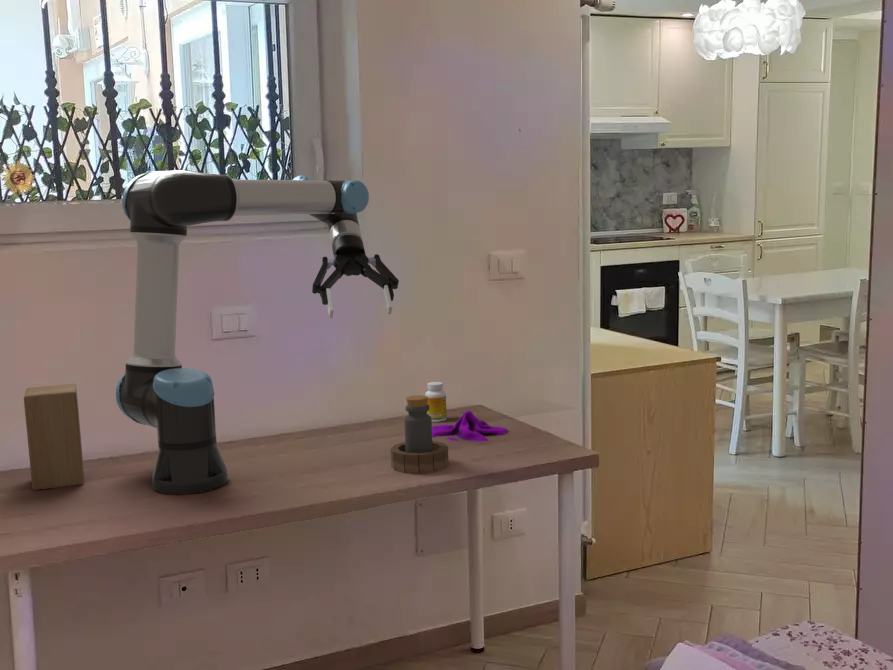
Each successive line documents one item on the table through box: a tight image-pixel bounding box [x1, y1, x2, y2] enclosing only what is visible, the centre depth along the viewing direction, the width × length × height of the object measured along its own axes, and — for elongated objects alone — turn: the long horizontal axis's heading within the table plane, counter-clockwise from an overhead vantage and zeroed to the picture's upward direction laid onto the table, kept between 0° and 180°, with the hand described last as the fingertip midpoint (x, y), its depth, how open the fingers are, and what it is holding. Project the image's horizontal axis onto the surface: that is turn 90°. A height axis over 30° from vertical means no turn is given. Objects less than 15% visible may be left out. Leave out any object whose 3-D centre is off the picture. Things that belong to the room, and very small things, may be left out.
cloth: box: [432, 410, 509, 442], centre depth 234 cm, size 22×19×6 cm
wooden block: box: [23, 383, 85, 491], centre depth 203 cm, size 10×10×20 cm
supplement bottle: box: [424, 381, 448, 423], centre depth 250 cm, size 5×5×10 cm
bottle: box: [404, 394, 433, 453], centre depth 208 cm, size 6×6×15 cm
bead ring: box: [390, 440, 449, 475], centre depth 208 cm, size 12×12×4 cm
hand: (361, 312), depth 221 cm, fingers open, 13 cm apart
